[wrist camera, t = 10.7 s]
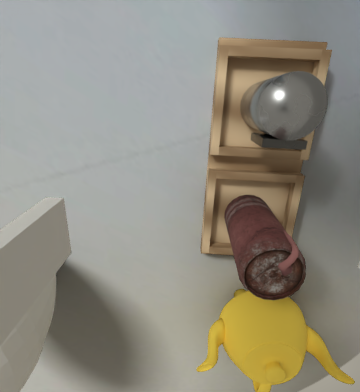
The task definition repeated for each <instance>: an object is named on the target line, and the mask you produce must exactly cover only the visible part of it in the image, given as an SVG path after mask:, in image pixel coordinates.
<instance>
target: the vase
mask: <svg viewBox="0 0 360 392" xmlns="http://www.w3.org/2000/svg"><path fill="white" fill-rule="evenodd" d="M55 299H56V274H55V275H54V276H53V278H52V279H51V280H50V282H49V283H48V284H47V286H46V287H45V288H44V290H43V291H42V292H41V294H40V295H39V296H38V298H37V299H36V300H35V301H34V303H33V304H32V305H31V307H30V308H29V309H28V311H27V312H26V313H25V315H24V316H23V317H22V319H21V320H20V321H19V323H18V324H17V325H16V326H15V328H14V329H13V330H12V332H11V333H10V334H9V336H8V337H7V338H6V340H5V341H4V342H3V344H2V345H1V346H0V392H19V391H20V390H21V389H22V388H23V386H24V385H25V383H26V381H27V380H28V378H29V376H30V375H31V373H32V371H33V369H34V368H35V366H36V364H37V362H38V359H39V357H40V354H41V351H42V348H43V345H44V342H45V339H46V336H47V333H48V330H49V328H50V324H51V321H52V317H53V313H54V308H55Z"/></svg>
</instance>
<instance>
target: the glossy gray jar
mask: <svg viewBox="0 0 360 392" xmlns="http://www.w3.org/2000/svg"><path fill="white" fill-rule="evenodd" d="M326 109H327V93H326V90H325V87H324V85H323V84H322V82H321V81H320V80H319V79H318V78H317V77H316V76H314V75H313V74H310V73H308V72H304V71H293V72H289V73H285V74H282V75H279V76H276V77H273V78H270V79H266V80H263V81H260V82H257V83H255V84H253V85H252V86H251V87H249V88H248V89H247V90H246V92H245V93H244V95H243V97H242V99H241V104H240V112H241V116H242V118H243V120H244V121H245V123H246V124H247V125H249V126H250V127H252V128H254V129H257V130H259V131H261V132H264V133H251V141H253V142H254V143H256V144H257V145H259V146H260V147H264V148H282V149H300V150H306V147H307V142H308V141H306V140H303V139H300V138H303V137H305V136H307V135H309V134H310V133H311V132H313V131H314V130H315V129H316V128H317V127H318V126H319V124H320V123H321V121H322V120H323V118H324V115H325V113H326Z"/></svg>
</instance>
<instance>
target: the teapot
mask: <svg viewBox="0 0 360 392" xmlns="http://www.w3.org/2000/svg"><path fill="white" fill-rule="evenodd" d="M221 344H223V346H224V349H225V351H226V352H227V354H228V356H229V357H230V359H231V360H232V361H233V362H234V364H235V365H236V366H237V367H238V368H239V369H240V370H241V371H242V372H243V373H244V374H245V375H246V376H248V377H249V378H250V379H252V380H253V385H254V389H255V391H256V392H270V390H271V385H276V384H281V383H284V382H287V381H289V380H291V379H292V378H294V377H295V376H296V375H297V374H298V372H299V371H300V369H301V367H302V364H303V361H304V357H305V353H306V351H307V352H309V353H311V354H312V355H313V356H314V357H316V358H317V360H318V361H319V362H320V363H321V365H322V366H323V367H324V369H325V370H326V371H327V372H328V373H329V374H330V375H331V376H333V377H334V378H335V379H337V380H339V381H341V382H343V383H347V384H354V383H355V381H354V380H353V379H352V378H351V377H350V376H348V375H347V374H345V373H344V372H343V371H341V370H340V369H339V368H338V367H337V365H336V364H335V363H334V361H333V359H332V358H331V356H330V354H329V352H328V349H327V347H326V345H325V343H324V342H323V340H322V338H321V337H320V336H319V335H318V334H317V333H316V332H315V331H314V330H313V329H311V328H310V327H308V326H307V325H306V323H305V319H304V316H303V314H302V312H301V310H300V308H299V307H298V305H297V304H296V303H295V302H294V301H293V300H292V299H290V298H289V297H286V298H284V299H279V300H264V299H261V298H259V297H256V296H255V295H253V294H252V293H251V292H249V291H246V290H244V289H238V290H236V291H235V293H234V298H233V299H231V300H230V301H229V302H228V303H227V304H226V305H225V307H224V308H223V310H222V312H221V314H220V317H219V320H217V321H216V322H215V323H214V324H213V325H212V326H211V328H210V331H209V335H208V355H207V358H206V360H205V361H204V362H203V363H202V364H201V365H200V366H199V367H198V368H197V371H198V372H203V371H207V370H209V369H211V368H213V367H214V366H215V364H216V363H217V360H218V347H219V346H220V345H221Z"/></svg>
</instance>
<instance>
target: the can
mask: <svg viewBox="0 0 360 392" xmlns="http://www.w3.org/2000/svg"><path fill="white" fill-rule="evenodd" d="M224 218H225V223H226V227H227V231H228V235H229V239H230V243H231V247H232V251H233V255H234V259H235V263H236V267H237V270H238V274H239V278H240V281H241V282H242V284H243V285H244V287H245V288H246V289H248V290H249V292H251V293H252V294H253V295H255V296H256V297H259V298H261V299H264V300H279V299H284V298H286V297H288V296H291V295H292V294H294V293H295V292H296V291H297V290H299V288H300V287H301V285H302V284H303V282H304V279H305V275H306V273H305V270H306V265H305V259H304V257H303V255H302V254H301V252H300V250H299V249H298V247H297V245H296V244H295V242H294V240H293V239H292V237H291V236H290V235H289V234H288V233H287V232H286V231H285V229H284V228H283V226H282V225H281V223H280V222H279V221H278V219H277V218H276V216H275V215H274V214H273V212H272V211H271V209H270V208H269V207H268V205H267V204H266V202H265V201H263V200H262V199H261V198H260V197H257V196H255V195H242V196H239V197H237V198H235V199H233V200H232V201H231V202H230V203H229V204H228V206H227V208H226V210H225V215H224Z"/></svg>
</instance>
